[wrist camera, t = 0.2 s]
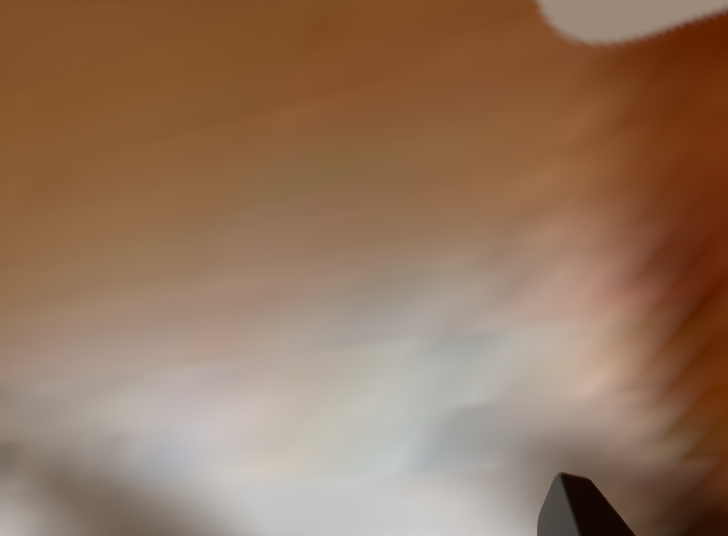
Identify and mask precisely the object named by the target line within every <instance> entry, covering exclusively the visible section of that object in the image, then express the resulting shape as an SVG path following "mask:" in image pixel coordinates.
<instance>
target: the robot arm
mask: <svg viewBox="0 0 728 536" xmlns="http://www.w3.org/2000/svg"><path fill="white" fill-rule="evenodd" d="M537 536H635V534H634V533H633V532H632V531H631V529H630V528H629V527H628V526H627V524H626V523H625V522H624V521H623V519H622V518H621V517H620V516H619V514H618V513H617V512H616V511H615V510H614V508H613V507H612V506H611V505H610V503H609V502H608V501H607V500H606V498H605V497H604V496H603V495H602V493H601V492H600V491H599V490H598V488H597V487H596V486H595V485H594V483H593V482H592V481H591V480H589V479H588V478H586V477H583V476H579V475H574V474H570V473H566V472H561V473H558V474H557V475H556V476H555V478H554V480H553V482H552V485H551V487H550V489H549V492H548V494H547V497H546V499H545V501H544V504H543V506H542V508H541V511H540V514H539V518H538V525H537Z"/></svg>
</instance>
